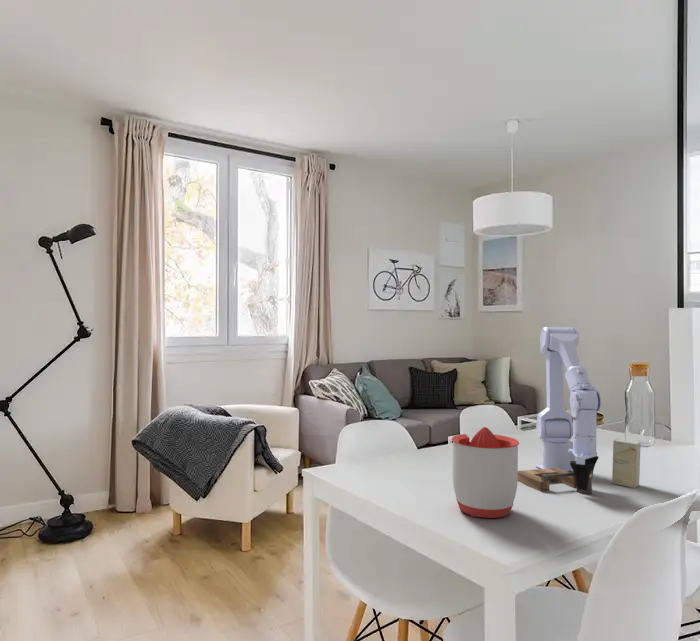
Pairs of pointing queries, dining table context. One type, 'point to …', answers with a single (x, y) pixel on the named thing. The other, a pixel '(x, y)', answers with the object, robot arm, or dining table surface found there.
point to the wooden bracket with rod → (546, 478)
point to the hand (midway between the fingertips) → (584, 485)
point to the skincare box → (626, 463)
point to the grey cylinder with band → (589, 488)
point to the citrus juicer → (485, 473)
